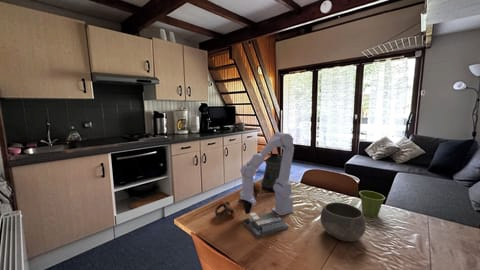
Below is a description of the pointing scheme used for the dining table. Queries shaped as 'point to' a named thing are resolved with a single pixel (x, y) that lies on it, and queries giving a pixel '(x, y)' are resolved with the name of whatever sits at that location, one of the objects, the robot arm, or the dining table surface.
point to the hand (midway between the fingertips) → (247, 213)
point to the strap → (267, 221)
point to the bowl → (343, 221)
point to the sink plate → (266, 228)
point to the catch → (253, 217)
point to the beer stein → (271, 172)
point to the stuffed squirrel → (255, 190)
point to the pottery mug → (226, 210)
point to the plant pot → (371, 203)
